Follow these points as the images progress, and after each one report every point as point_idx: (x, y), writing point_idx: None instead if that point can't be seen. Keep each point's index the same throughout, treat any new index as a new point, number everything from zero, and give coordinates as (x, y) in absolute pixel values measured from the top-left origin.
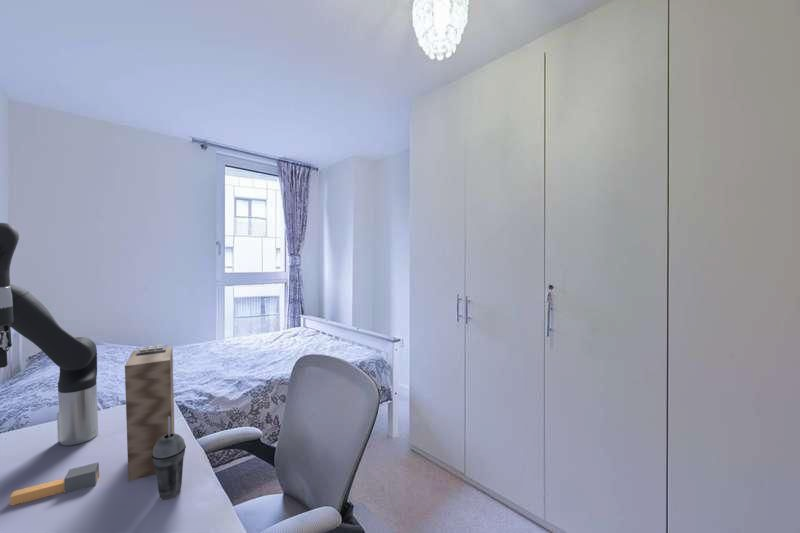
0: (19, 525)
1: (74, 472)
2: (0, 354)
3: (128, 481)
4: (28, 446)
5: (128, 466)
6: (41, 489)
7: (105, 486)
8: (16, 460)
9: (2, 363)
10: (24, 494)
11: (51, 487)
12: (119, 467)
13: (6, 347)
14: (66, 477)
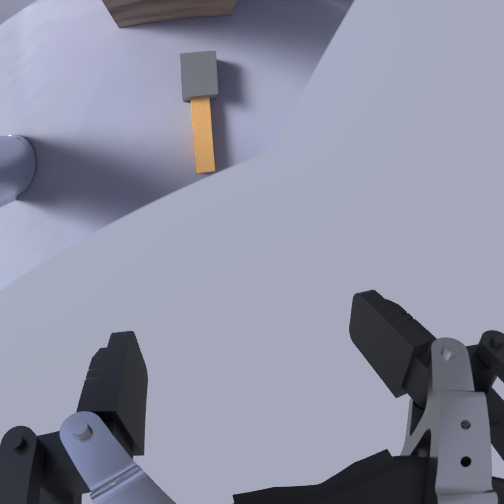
0: (277, 134)
1: (201, 83)
2: (128, 422)
3: (231, 14)
4: (20, 244)
5: (235, 2)
6: (211, 129)
7: (226, 43)
8: (59, 237)
9: (134, 359)
10: (213, 152)
11: (210, 116)
12: (167, 37)
13: (99, 450)
14: (215, 91)
